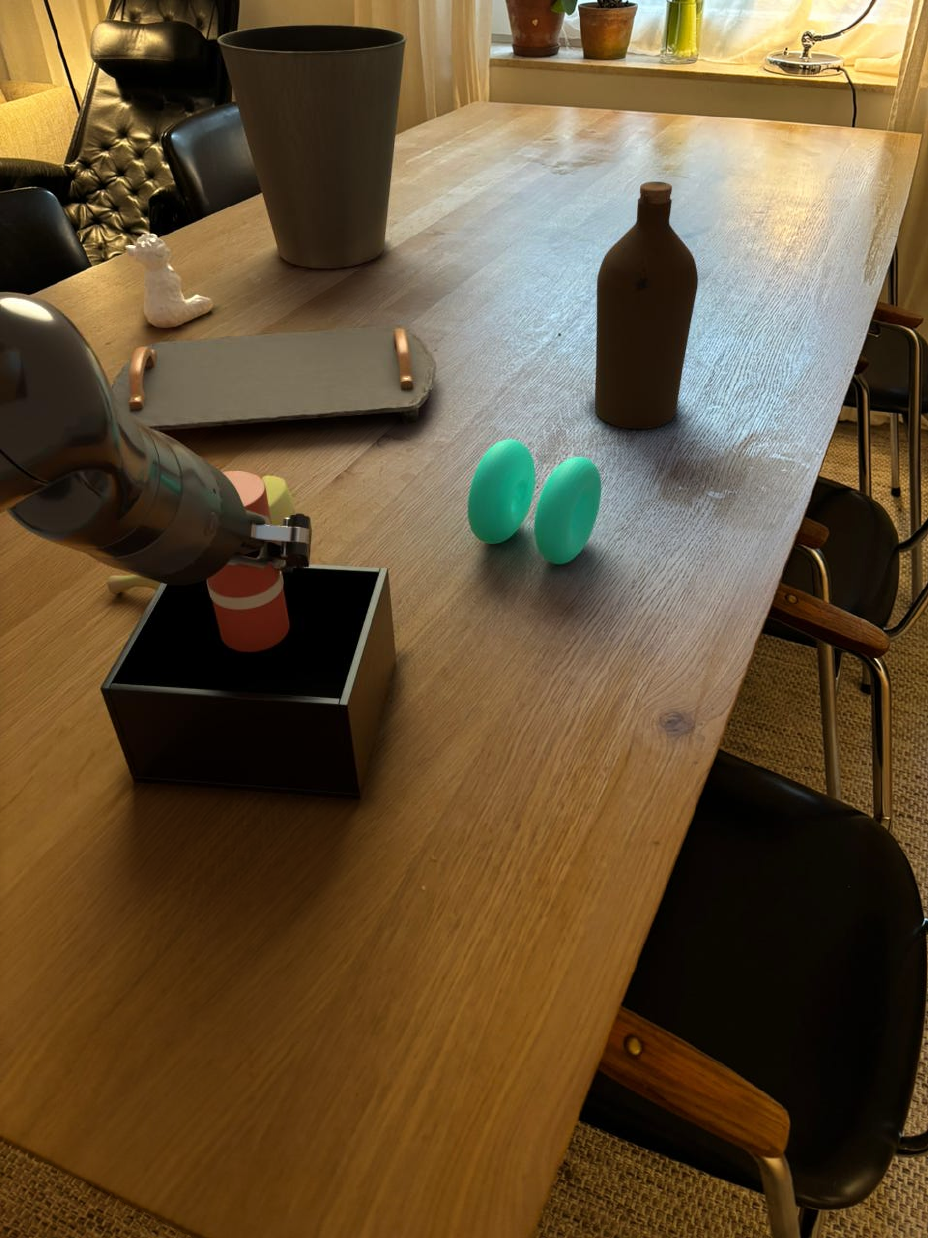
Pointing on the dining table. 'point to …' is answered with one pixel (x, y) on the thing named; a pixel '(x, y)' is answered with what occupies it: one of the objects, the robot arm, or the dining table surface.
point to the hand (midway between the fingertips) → (250, 555)
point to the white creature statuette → (164, 286)
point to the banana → (279, 509)
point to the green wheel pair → (509, 493)
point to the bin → (258, 689)
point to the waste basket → (320, 133)
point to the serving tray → (277, 378)
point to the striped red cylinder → (249, 586)
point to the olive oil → (644, 317)
